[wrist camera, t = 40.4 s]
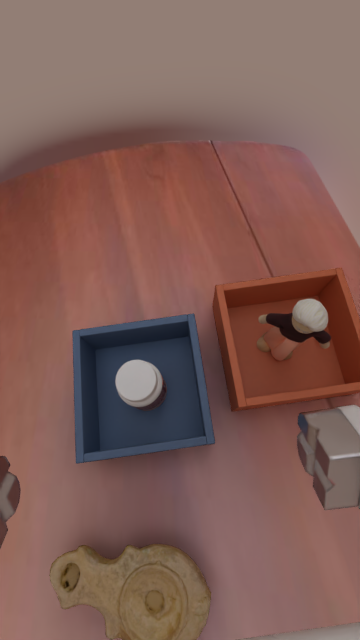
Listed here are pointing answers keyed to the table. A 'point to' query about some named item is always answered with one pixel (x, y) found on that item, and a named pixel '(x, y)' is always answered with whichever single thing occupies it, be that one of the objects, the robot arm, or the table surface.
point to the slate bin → (127, 421)
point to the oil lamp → (136, 591)
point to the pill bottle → (141, 385)
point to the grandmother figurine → (294, 329)
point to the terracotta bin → (307, 360)
